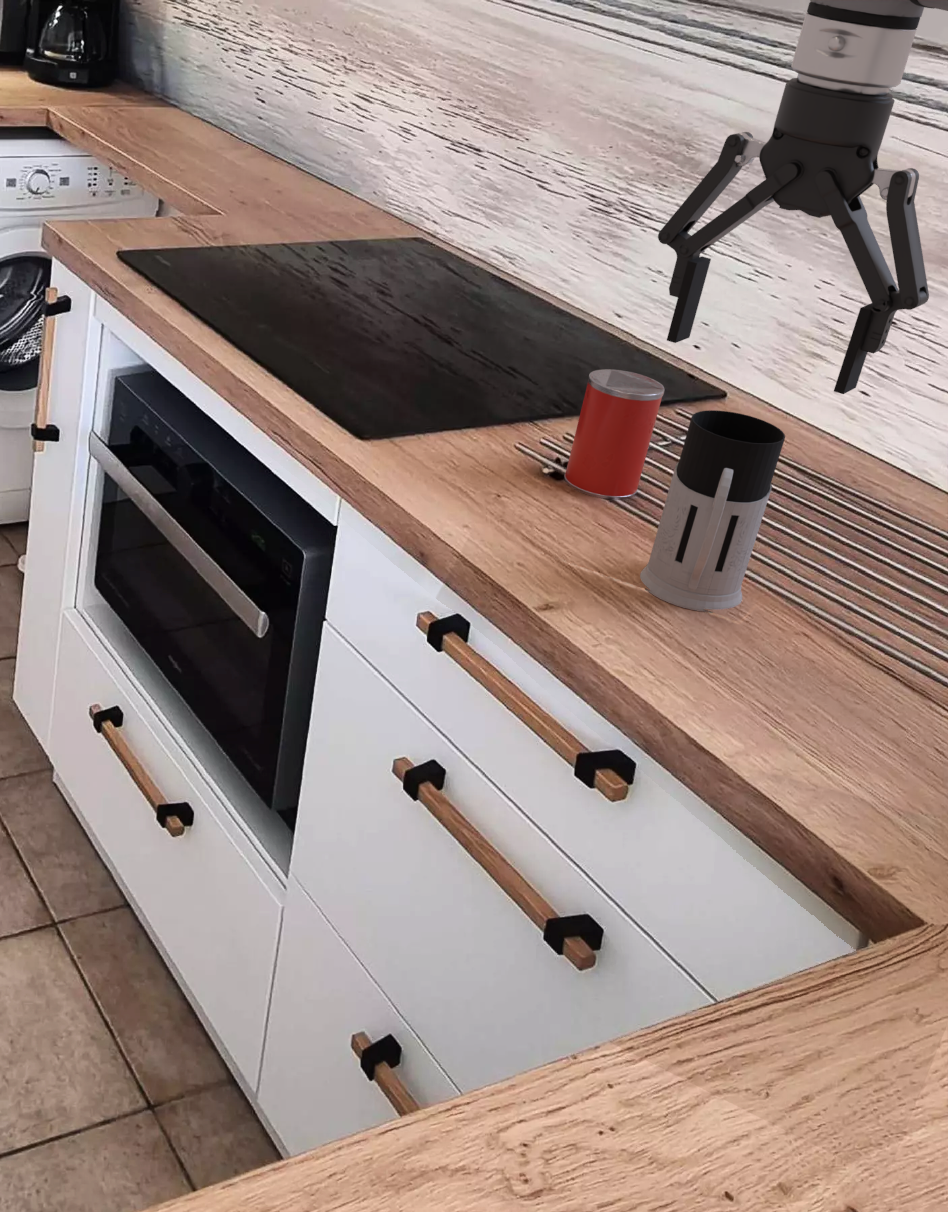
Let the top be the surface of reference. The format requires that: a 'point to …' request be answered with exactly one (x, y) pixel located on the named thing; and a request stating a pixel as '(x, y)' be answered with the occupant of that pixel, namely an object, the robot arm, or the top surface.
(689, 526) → the glass holder
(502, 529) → the top surface
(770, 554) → the top surface
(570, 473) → the sauce can
